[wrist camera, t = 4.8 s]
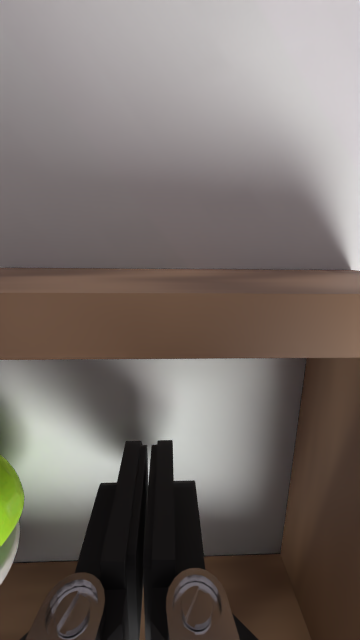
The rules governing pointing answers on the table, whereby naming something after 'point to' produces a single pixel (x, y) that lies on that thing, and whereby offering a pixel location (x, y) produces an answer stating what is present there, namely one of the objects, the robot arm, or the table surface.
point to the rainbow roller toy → (9, 515)
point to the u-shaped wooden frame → (223, 342)
